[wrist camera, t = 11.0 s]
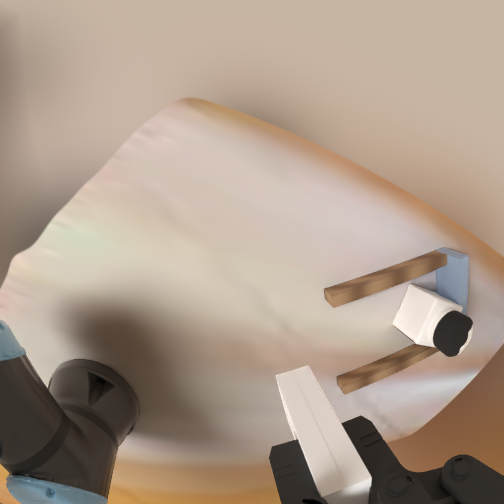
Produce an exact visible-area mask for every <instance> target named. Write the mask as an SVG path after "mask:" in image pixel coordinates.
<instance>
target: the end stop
mask: <svg viewBox="0 0 504 504" xmlns="http://www.w3.org/2000/svg"><path fill="white" fill-rule="evenodd" d="M435 251H438V252H441V253H444V254H447V265H445V266H443V267H441V268H438V269H436V287H437V293H438V294H440V295H442V296H444V297H445V298H447V299H449V300H451V301H453V302H455V303H457V304H458V305H460V306H462V307H463V309H462V312H461V313H462V314H464V315H467V300H468V255H465V254H462V253H459V252H456V251H453V250H450V249H447V248H444V247H443V248H440V249H438V250H435Z"/></svg>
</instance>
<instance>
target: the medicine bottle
mask: <svg viewBox="0 0 504 504" xmlns="http://www.w3.org/2000/svg"><path fill="white" fill-rule="evenodd" d="M462 309H463V307H462V306H460V305H458V304H457V303H455V302H453V301H451V300H449V299H447V298H445V297H444V296H442V295H440V294H438V293H436V292H433V291H430V290H427V289H425V288H422V287H419V286H416V285H413V284H410V285H409V287H408V289H407V291H406V294H405V296H404V299H403V301H402V303H401V306H400V308H399V310H398V313H397V315H396V317H395V319H394V321H393V326H394V327H396V328H397V329H398V330H399V331H401V332H402V333H403V334H404V335H406V336H407V337H408V338H409V339H411V340H412V341H413V342H414V343H415V344H419V345H424V346H430V347H436V348H437V349H438V350H440V351H441V352H442V353H444V354H445V355H446V356H448V357H453V356H456V355H458V354H460V353H461V352H462V351H463V350H464V349H465V348H466V346H467V345H468V343H469V342H470V340H471V337H472V334H473V322H472V320H471V319H470V318H469V317H467V316H466V315H464V314H462V313H461V312H462Z"/></svg>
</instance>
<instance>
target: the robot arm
mask: <svg viewBox="0 0 504 504" xmlns="http://www.w3.org/2000/svg"><path fill="white" fill-rule="evenodd" d="M275 376H276V380H277V383H278V387H279V391H280V395H281V398H282V402H283V406H284V410H285V413H286V417H287V420H288V422H289V425H290V428H291V431H292V433H293V436H294V439H295V440H293V441H290V442H287V443H283V444H280V445H276V446H273V447H272V449H271V453H270V457H269V459H270V463H271V467H272V470H273V474H274V478H275V482H276V485H277V489H278V493H279V496H280V500H281V503H282V504H504V476H503V475H501V474H500V473H498V472H496V471H495V470H493V469H491V468H490V467H488V466H487V465H485V464H483V463H481V462H480V461H479V460H477V459H475V458H474V457H472V456H469V455H457V456H455V457H452V458H451V459H449V460H448V461H447V462H446V463H445V465H444V466H443V467H441V468H438V469H434V470H431V471H426V472H420V473H419V472H412V471H408V470H407V469H405V468H404V467H403V466H402V465H401V464H400V463H399V461H398V460H397V458H396V457H395V455H394V454H393V453H392V451H391V449H390V448H389V447H388V445H387V444H386V442H385V441H384V440H383V438H382V436H381V435H380V433H378V431H377V429H376V428H375V426H374V425H373V423H372V422H371V421H369V420H368V419H366V418H364V417H363V416H359V417H356V418H354V419H351V420H349V421H346V422H344V423H341V422H340V421H339V419H338V417H337V415H336V414H335V412H334V410H333V408H332V407H331V405H330V403H329V401H328V399H327V398H326V396H325V394H324V392H323V391H322V389H321V387H320V385H319V384H318V382H317V380H316V378H315V376H314V375H313V373H312V371H311V369H310V368H309V366H308V365H307V366H304V367H301V368H298V369H295V370H292V371H288V372H285V373H282V374H278V375H275ZM138 414H139V404H138V400H137V397H136V395H135V393H134V391H133V390H132V388H131V387H130V386H129V384H128V383H127V382H126V381H125V380H124V379H123V378H122V377H121V376H119V375H118V374H117V373H115V372H114V371H113V370H111V369H109V368H107V367H106V366H103V365H101V364H99V363H96V362H93V361H89V360H81V359H76V360H70V361H66V362H64V363H62V364H61V365H60V366H59V367H58V368H57V369H56V370H55V372H54V373H53V375H52V376H51V378H50V381H49V384H48V389H47V387H46V386H45V384H44V383H43V381H42V380H41V378H40V377H39V375H38V374H37V372H36V370H35V369H34V367H33V366H32V364H31V362H30V361H29V359H28V357H27V355H26V351H25V349H24V348H22V347H21V346H20V344H19V342H18V341H17V339H16V338H15V336H14V334H13V333H12V331H11V329H10V328H9V326H8V325H7V324H6V323H5V322H4V321H2V320H0V464H1V465H2V466H3V467H4V468H5V469H6V470H7V471H8V472H9V473H10V475H9V476H7V478H6V480H7V483H6V486H7V488H8V490H9V492H10V493H11V495H12V496H13V497H14V498H16V499H17V500H18V501H19V502H21V503H22V504H107V503H108V494H109V489H110V483H111V478H112V473H113V469H114V464H115V459H116V454H117V450H118V447H119V446H120V445H121V443H122V442H123V441H124V439H125V438H126V436H127V435H128V434H130V433H131V431H132V430H133V429H134V427H135V425H136V422H137V418H138Z"/></svg>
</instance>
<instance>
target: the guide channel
mask: <svg viewBox="0 0 504 504" xmlns="http://www.w3.org/2000/svg"><path fill="white" fill-rule="evenodd" d="M445 265H447V254H444V253H441V252H438V251H433V252H430V253H427V254H425V255H422V256H419V257H416V258H414V259H411V260H408V261H405V262H403V263H400V264H397V265H394V266H391V267H389V268H386V269H383V270H380V271H377V272H374V273H371V274H368V275H365V276H362V277H359V278H356V279H353V280H350V281H347V282H344V283H341V284H338V285H335V286H332V287H329V288H326V289H324V294H325V300H326V301H327V302H328V303H329V304H330V305H331V306H332V307H333V308H334V307H337V306H340V305H343V304H346V303H349V302H352V301H355V300H358V299H360V298H363V297H366V296H369V295H372V294H374V293H377V292H380V291H382V290H385V289H388V288H390V287H393V286H396V285H398V284H401V283H404V282H406V281H409V280H411V279H414V278H416V277H419V276H421V275H424V274H426V273H429V272H431V271H433V270H436V269H438V268H441V267H443V266H445ZM438 351H440V350H438V349H437V348H436V347H430V346H424V345H419V344H413V345H411V346H409V347H407V348H405V349H402V350H400V351H398V352H396V353H394V354H391V355H389V356H387V357H385V358H382V359H380V360H378V361H375V362H373V363H371V364H368V365H366V366H363V367H361V368H358V369H356V370H353V371H351V372H348V373H345V374H343V375H340V376H337V384H338V386H339V387H340V389H341V390H342V392H343V393H344V395H345V394H347V393H350V392H352V391H355V390H357V389H360V388H362V387H365V386H367V385H369V384H372V383H374V382H376V381H379V380H381V379H383V378H385V377H388V376H390V375H392V374H394V373H396V372H399V371H401V370H403V369H405V368H407V367H409V366H411V365H413V364H415V363H417V362H419V361H421V360H423V359H425V358H427V357H429V356H431V355H432V354H434V353H436V352H438Z"/></svg>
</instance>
